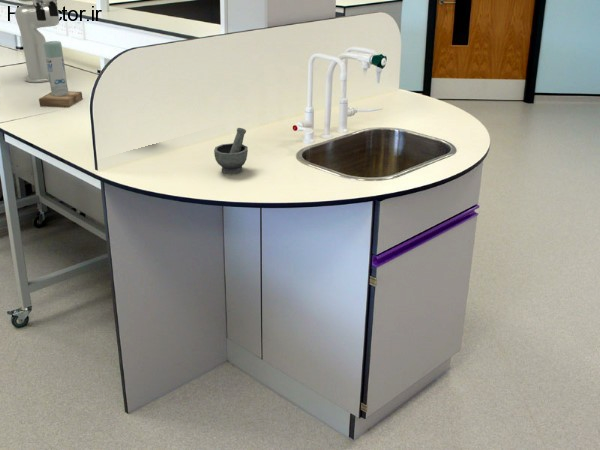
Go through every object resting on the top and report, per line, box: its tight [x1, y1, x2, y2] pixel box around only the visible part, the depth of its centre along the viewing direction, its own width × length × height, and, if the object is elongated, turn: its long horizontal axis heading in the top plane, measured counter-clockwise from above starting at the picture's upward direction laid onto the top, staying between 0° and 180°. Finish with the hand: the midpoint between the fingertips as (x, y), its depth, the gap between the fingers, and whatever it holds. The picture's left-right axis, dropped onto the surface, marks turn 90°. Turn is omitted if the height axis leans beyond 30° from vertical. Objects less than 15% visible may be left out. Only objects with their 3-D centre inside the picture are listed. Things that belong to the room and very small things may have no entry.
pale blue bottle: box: [43, 40, 69, 97], centre depth 273 cm, size 6×6×20 cm
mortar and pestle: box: [213, 127, 249, 176], centre depth 207 cm, size 11×9×12 cm
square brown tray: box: [38, 90, 84, 108], centre depth 278 cm, size 12×12×3 cm
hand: (48, 18), depth 265 cm, fingers open, 9 cm apart
